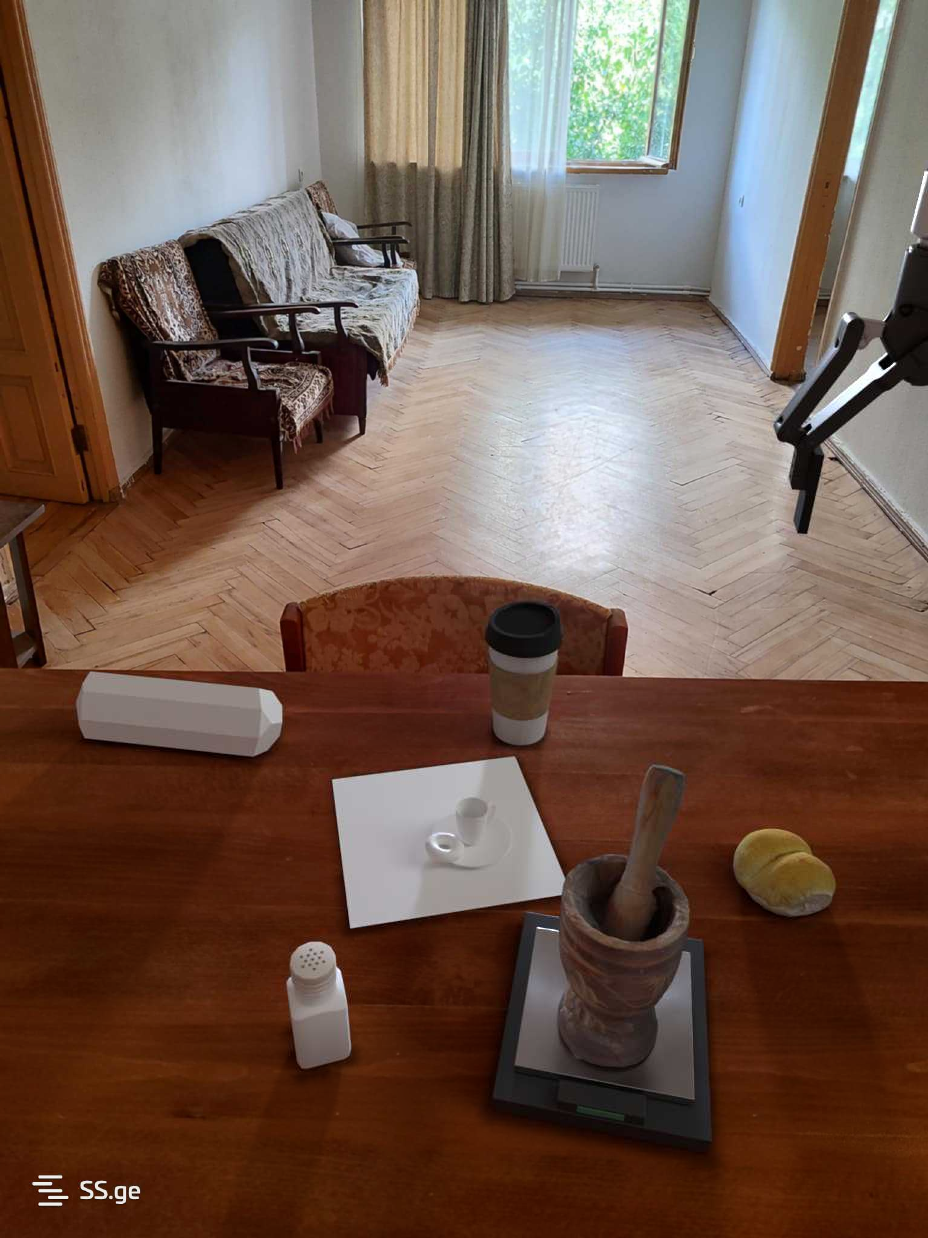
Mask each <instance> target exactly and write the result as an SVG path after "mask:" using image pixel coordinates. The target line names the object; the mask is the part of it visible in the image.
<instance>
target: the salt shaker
mask: <svg viewBox="0 0 928 1238" xmlns="http://www.w3.org/2000/svg"><path fill="white" fill-rule="evenodd" d="M336 957H337V956H336V954H335V952H334V950H333V949H332V946H330V945H328V944H326V943H324V942H323V941H309V942H307V943H306V942H305V943H304V944H302V945H300V946H297V948H296V949H295V951H293V953H292V954H291V956H290V961H289V971H290V977H288V979H287V981H286V982H285V983H286V992H287V999H288V1006H289V1014H290V1020H291V1027H292V1035H293V1041H294V1049H295V1057H296V1062H297V1064H298V1066H299V1067H300V1068H301V1069H305V1070H308V1069H311V1068H315V1067H318V1066H319V1067H320V1066H323V1065H326V1064H330V1063H331V1064H332V1063H335V1062H338V1061H342V1060H346V1059H347V1058H348V1057H349V1056H350V1055H351V1051H352V1042H351V1032H350V1020H349V1019H350V1018H349V1009H348V1001H347V996H346V990H345V985H344V980H343V975H342V971H341V970H340V968H339V967H338V966H337V962H336V961H337V958H336Z"/></svg>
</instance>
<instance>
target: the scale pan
mask: <svg viewBox="0 0 928 1238" xmlns="http://www.w3.org/2000/svg"><path fill="white" fill-rule="evenodd" d="M569 985H570V984H569V982H568V980H567V977H566V974H565V970H564V968H563V965H562V962H561V958H560V950H559V931H556V930H550V929H544V928H538V927H537V928H536V934H535V941H534V947H533V953H532V959H531V965H530V972H529V978H528V984H527V990H526V996H525V1002H524V1009H523V1015H522V1021H521V1027H520V1033H519V1039H518V1046H517V1052H516V1058H515V1064H514V1071H515V1072H519V1073H524V1074H530V1075H535V1076H540V1077H545V1078H550V1079H556V1080H566V1081H571V1082H576V1083H582V1084H587V1085H592V1086H597V1087H602V1088H608V1089H613V1090H618V1091H623V1092H628V1093H634V1094H639V1095H644V1096H646V1097H649V1098H654V1099H659V1100H664V1101H670V1102H675V1103H680V1104H685V1105H690V1106H693V1103H694V1063H693V1025H692V987H691V953H690V952H684V951H683V952H682V957H681V960H680V964H679V967H678V969H677V972H676V975H675V977H674V979H673V981H672V983H671V985H670V986H669V988H668V989H667V991H666V992H665V993H664V995H663V997H662V998H661V999H660V1000H659V1002H658V1003H657V1004H656V1005H655V1006H654V1007H655V1012H656V1017H657V1020H658V1032H657V1036H656V1040H655V1043H654V1046H653V1048H652V1049H651V1051H650V1052H649V1054H648V1055H647V1056H646V1057H645V1058H644V1059H643V1060H642V1061H640V1062H638V1063H637V1064H633V1065H630V1066H626V1067H610V1066H600V1065H596V1064H592V1063H589V1062H587V1061H585V1060H583V1059H577V1058H576V1057H575V1055H574V1054H573V1052H572V1051H571V1049H570V1048H569V1047H568V1045H567V1044H566V1042H565V1041H564V1039H563V1037H562V1034H561V1032H560V1029H559V1024H558V1006H559V1002H560V1000H561V997H562V995H563V993H564V992H565V990H566V988H567V987H568V986H569Z"/></svg>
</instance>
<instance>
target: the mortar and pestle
mask: <svg viewBox="0 0 928 1238" xmlns="http://www.w3.org/2000/svg"><path fill="white" fill-rule="evenodd" d="M686 780H687V777H686V775H685V773H683V772H682V771H681V770H679V769H676V768H672V767H670V766H666V765H663V764H651V766H650V767H649V768H648V769H647V771H646V773H645V775H644V779H643V783H642V786H641V790H640V794H639V798H638V805H637V808H636V809H637V810H636V816H635V821H634V829H633V836H632V840H631V844H630V849H629V855H626V854H618V853H616V854H615V853H614V854H613V853H612V854H610V853H609V854H602V855H599V856H596V857H593V858H587V859H585V860H582V861H581V862H580V863H579V864H577V865H575V866H574V867H573V868H572V869H571V870H570V871H569V872H568V874H567V875H566V876H565V881H564V884H563V889H562V895H560V897H561V898H560V908H559V909H560V910H559V911H560V912H559V913H560V914H559V915H560V916H559V917H560V925H559V950H560V958H561V962H562V965H563V968H564V970H565V974H566V977H567V980H568V982H569V984H570V985H569V986H568V987H567V988H566V990H565V992H564V993H563V995H562V997H561V1000H560V1002H559V1006H558V1024H559V1029H560V1032H561V1034H562V1037H563V1039H564V1041H565V1042H566V1044H567V1045H568V1047H569V1048H570V1049H571V1051H572V1052H573V1054H574V1055H575V1057H576V1058H577V1059H583V1060H585V1061H587V1062H589V1063H592V1064H596V1065H600V1066H610V1067H626V1066H630V1065H633V1064H637V1063H638V1062H640V1061H642V1060H643V1059H644V1058H645V1057H646V1056H647V1055H648V1054H649V1052H650V1051H651V1049H652V1048H653V1046H654V1043H655V1040H656V1036H657V1032H658V1020H657V1017H656V1012H655V1007H654V1006H655V1005H656V1004H657V1003H658V1002H659V1000H660V999H661V998H662V997H663V995H664V993H665V992H666V991H667V989H668V988H669V986H670V985H671V983H672V981H673V979H674V977H675V975H676V972H677V969H678V967H679V964H680V960H681V957H682V952H683V947H684V943H685V940H686V938H687V935H688V931H689V927H690V913H691V909H690V901H689V900H688V898H687V896H686V894H685V892H684V890H683V888H682V887H681V885H680V884H679V883H678V882H677V881H676V880H675V879H674V878H672V876H670V874H669V873H668V872H667V871H665V870H664V869H663V868H662V867H660V866H659V865H658V864H659V860H660V857H661V854H662V851H663V849H664V845H665V843H666V840H667V837H668V835H669V833H670V832H671V829H672V827H673V824H674V822H675V820H676V817H677V815H678V813H679V811H680V808H681V805H682V800H683V797H684V793H685V789H686V783H687V781H686Z"/></svg>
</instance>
